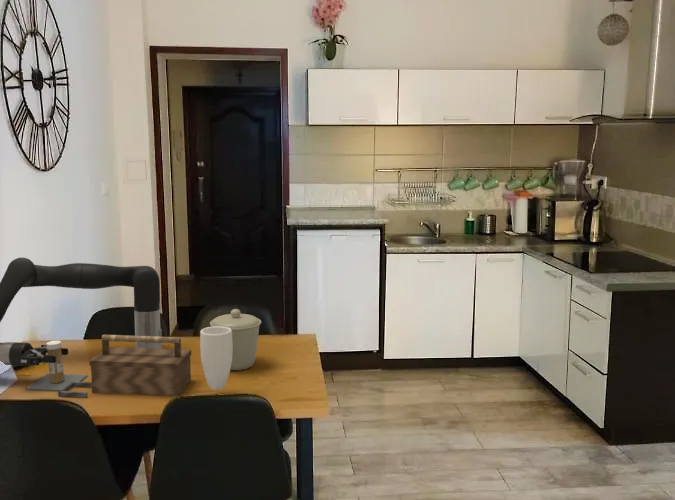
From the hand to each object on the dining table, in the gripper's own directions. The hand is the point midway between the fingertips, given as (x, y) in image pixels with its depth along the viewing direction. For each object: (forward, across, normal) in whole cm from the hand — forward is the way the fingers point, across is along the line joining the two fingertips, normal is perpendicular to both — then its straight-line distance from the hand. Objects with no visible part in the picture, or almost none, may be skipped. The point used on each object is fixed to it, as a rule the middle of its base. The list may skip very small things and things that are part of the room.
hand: (62, 355), depth 218 cm
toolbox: (+22, -2, +10) cm, 24 cm away
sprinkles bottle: (-2, 0, +9) cm, 9 cm away
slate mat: (-2, 0, +10) cm, 10 cm away
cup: (+53, -5, +10) cm, 54 cm away
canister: (+53, +23, +10) cm, 58 cm away
